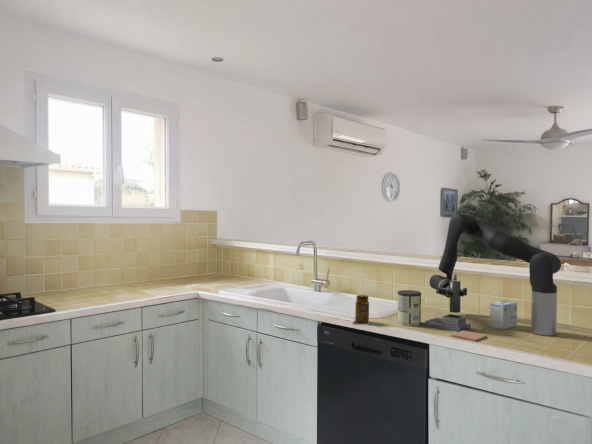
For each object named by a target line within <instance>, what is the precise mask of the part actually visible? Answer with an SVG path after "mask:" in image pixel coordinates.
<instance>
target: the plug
mask: <svg viewBox="0 0 592 444" xmlns="http://www.w3.org/2000/svg"><path fill="white" fill-rule="evenodd" d="M457 276H458V275H457V274H456V273H453V274H452V281H450V291H451V296H450V298H449V312H450V313H452V314H453V313H454V314H455V313H457V314H459V313H461V296H460V288H461V281H460V280H459V281H458V277H457Z"/></svg>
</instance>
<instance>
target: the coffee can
mask: <svg viewBox="0 0 592 444" xmlns="http://www.w3.org/2000/svg"><path fill="white" fill-rule="evenodd" d="M421 308H422V292H421V291H419V290H411V289H410V290H409V289H407V290H406V289H405V290H398V291H397V324H399V325H401V326H408V327H416V326H420V325H421V324H422V323H421V321H422V320H421V319H422V316H421V315H422V314H421V313H422V312H421V311H422V309H421Z"/></svg>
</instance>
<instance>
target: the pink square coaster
mask: <svg viewBox="0 0 592 444" xmlns="http://www.w3.org/2000/svg"><path fill="white" fill-rule="evenodd" d="M450 336H451V337H452V338H457V339H462V340H466V341H472V342H478V341H481V340H483V339H486V338H487V337H488V335H487V334H483V333H478V332H473V331H468V330H465V331H464V330H463V331H460V332H454V333H451V335H450Z"/></svg>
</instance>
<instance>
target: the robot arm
mask: <svg viewBox="0 0 592 444" xmlns="http://www.w3.org/2000/svg"><path fill="white" fill-rule="evenodd" d="M447 229H448V230H447V235H446V240H445V246H444V250H443V253H442V256H441V259H440V262H439V264H438V270H439V271H440V272H441V273H443V274H445V275H446V276H442V275H439V274H433V275H431V277H430V278H429V286H430V288H432V289H433V290H435V293H436V294H438V295H441V296H444V297H445V298H449V299H450V296H451V291H450V281H453V275H454V270H455V267H456V263H457V260H458V256H459V255H458V254H459V252H458V250H459V249H458V246H459V240H460V238H461V235H462V234H464V235H465V234H466V235H470V236H472V237H475V238H477V239H478V240H480V241H482V242H483V244H485V245H486V246H487V247H488V248H490V249H491V250H493V251H495V252H497V253H499V254H502V255H505V256H507V257H510V258H513V259H517V260H521V261H524V262H526V263H528V264H529V265H528V266H529V267H528V268H529V270H528V271H529V284H530V286H531V311H530V312H531V317H530V318H531V319H530V320H531V321H530V332H531V333H533V334H534V335H541V336H550V337H551V336H556V335H557V323H558V322H557V318H558V315H557V312H558V309H557V307H558V306H557V305H558V287H557V285H556V284H555V283H554V274H557V273H558V272H559V271H560V270H561V268H562V262H561V259H560V258H559V257H558V256H557V255H555V254H554V253H552V252H549V251H547V250H543V249H541V248H538V247H535V246H533V245H531V244H529V243H527V242H525V241H523V240H521V239H519V238H517V237H515V236H513V235H511V234H510V233H507V232H505V231H503V230H501V229H498V228H496V227H493V226H489V225H487V224H485V223H483V222H482V221H480V220H478V219H476V218H475V217H473V216H472V215H470V214H464V213H455V214H454V215H452V216H451V218H450V220H449V224H448V228H447ZM467 295H468V288H467V287H464V288H462V289H461V287H460V298H461V297H465V296H467Z"/></svg>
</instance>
